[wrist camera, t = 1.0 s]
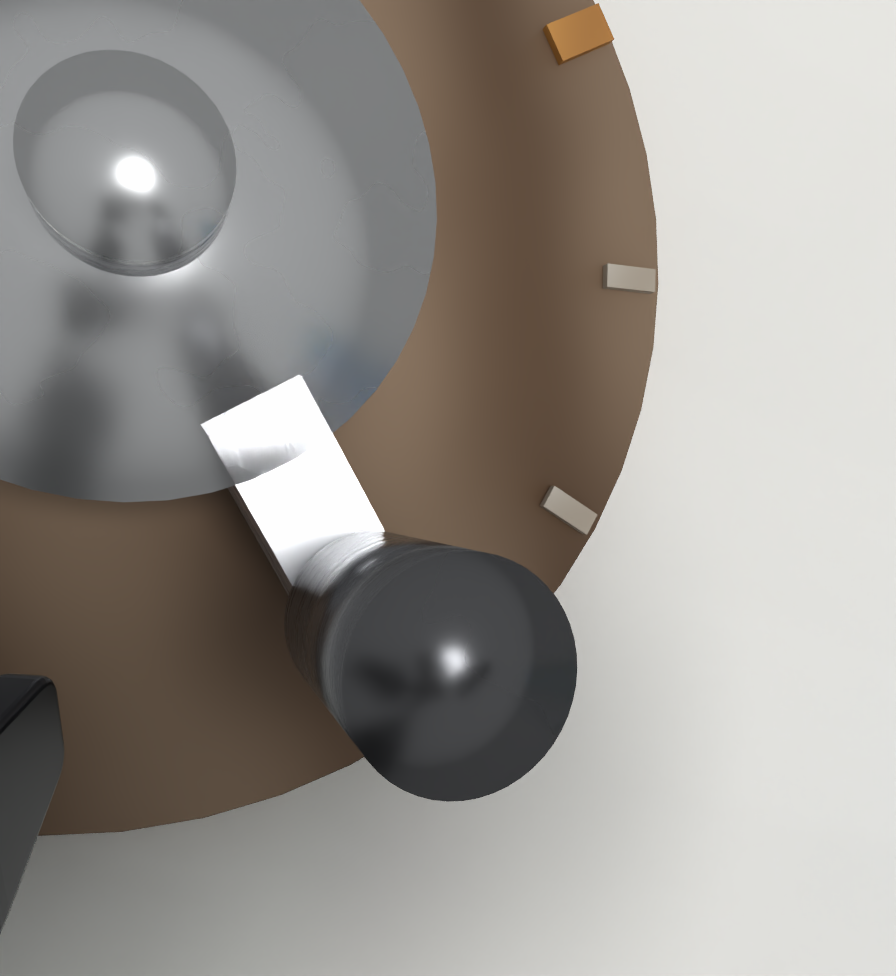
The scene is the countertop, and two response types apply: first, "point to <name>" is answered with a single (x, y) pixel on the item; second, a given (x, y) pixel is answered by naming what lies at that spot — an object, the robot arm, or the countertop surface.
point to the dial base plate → (372, 435)
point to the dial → (256, 343)
